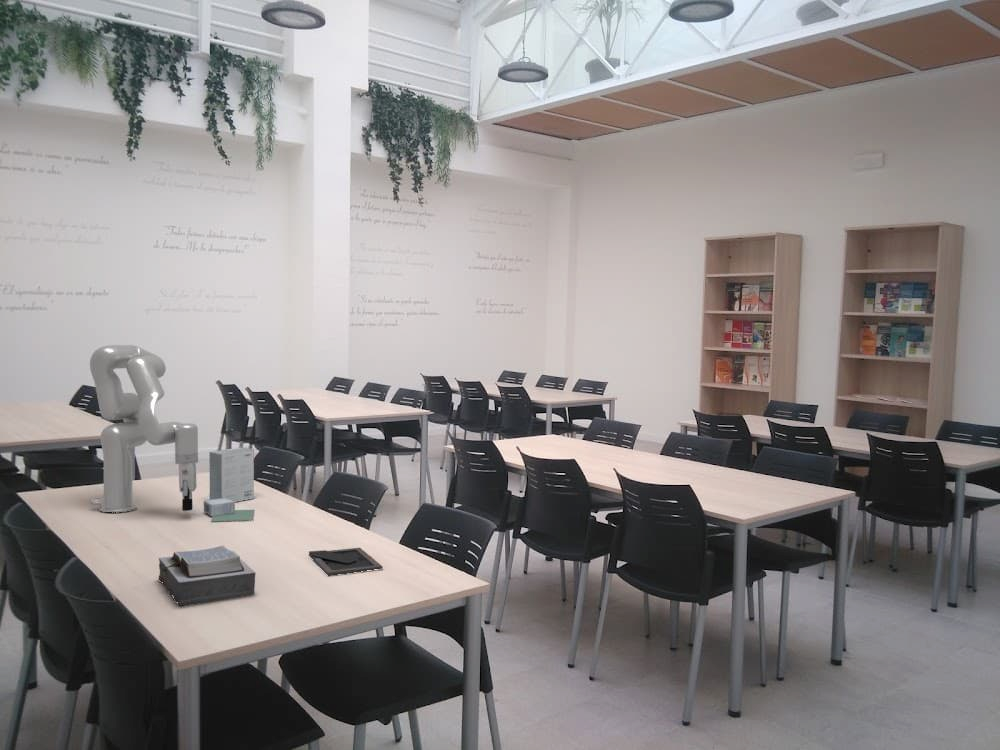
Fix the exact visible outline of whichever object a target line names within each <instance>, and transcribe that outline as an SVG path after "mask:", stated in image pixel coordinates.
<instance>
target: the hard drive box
mask: <svg viewBox="0 0 1000 750" xmlns="http://www.w3.org/2000/svg"><path fill="white" fill-rule="evenodd" d="M208 456H209V459H208V460H209V461H208V463H209V465H208V466H209V500H213V499H222V498H227V499H229V500H231V501H233V502H235V503H238V501H239V502H243V500H245V501H249V500H253V498H254V499H255V482H254V481H255V470H254V469H255V461H254V460H255V450H254V449H253V448H248V447H236V448H229V449H228V448H226V449H222V450H215V451H209V455H208ZM248 499H249V500H248Z"/></svg>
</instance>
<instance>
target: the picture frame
mask: <svg viewBox="0 0 1000 750" xmlns="http://www.w3.org/2000/svg"><path fill="white" fill-rule="evenodd" d="M309 556H310V557H311V558H312V559H313V560H312V559H311V558H310V557H309ZM308 557H309V558H310V559H311V560H312V562H314V563H315V565H316V566H317V567H318V566H319V567H320V568H321V569H322V570H323V571H324V572H325V573H326V574H327V575H328V576H327V575H326V574H325V573H324V572H323V571H322V570H321V569H320V568H319V567H318V568H319V569H320V570H321V571H322V572H323V573H324V574H325V575H326V576H327V577H332V576H331V575H336V576H339V575H338V574H344V575H348V574H347V573H353V574H355V573H354V572H361V571H367V570H374V569H381V568H382V569H383V566H382V564H380V562H378V561H377V560H375V558H373V557H372V556H371V555H370V554H368V553H367V552H366V551H365V550H363V549H362V548H361V547H351V548H343V549H334V550H332V549H331V550H325V549H324V550H312V551H311V550H310V551H308ZM361 573H362V572H361Z"/></svg>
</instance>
